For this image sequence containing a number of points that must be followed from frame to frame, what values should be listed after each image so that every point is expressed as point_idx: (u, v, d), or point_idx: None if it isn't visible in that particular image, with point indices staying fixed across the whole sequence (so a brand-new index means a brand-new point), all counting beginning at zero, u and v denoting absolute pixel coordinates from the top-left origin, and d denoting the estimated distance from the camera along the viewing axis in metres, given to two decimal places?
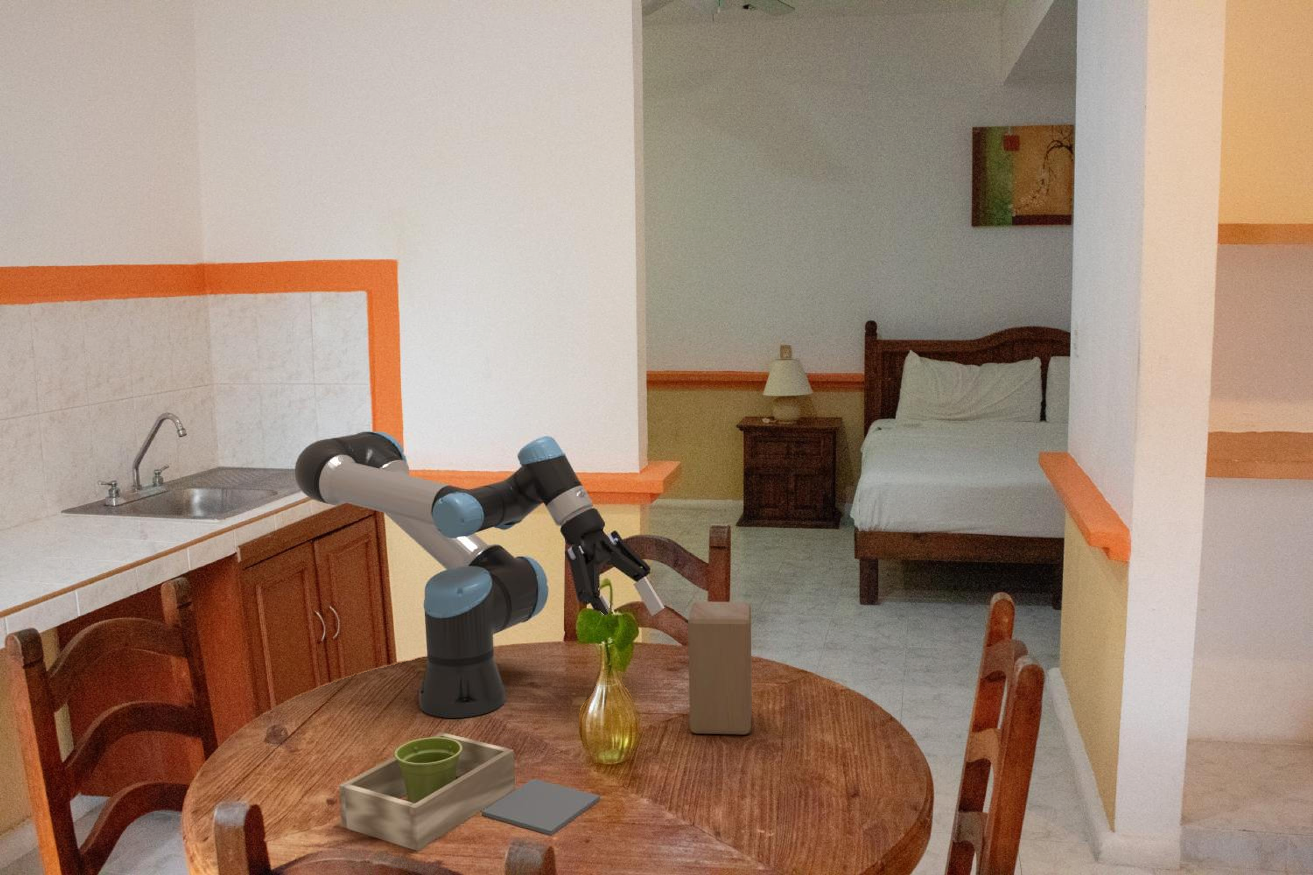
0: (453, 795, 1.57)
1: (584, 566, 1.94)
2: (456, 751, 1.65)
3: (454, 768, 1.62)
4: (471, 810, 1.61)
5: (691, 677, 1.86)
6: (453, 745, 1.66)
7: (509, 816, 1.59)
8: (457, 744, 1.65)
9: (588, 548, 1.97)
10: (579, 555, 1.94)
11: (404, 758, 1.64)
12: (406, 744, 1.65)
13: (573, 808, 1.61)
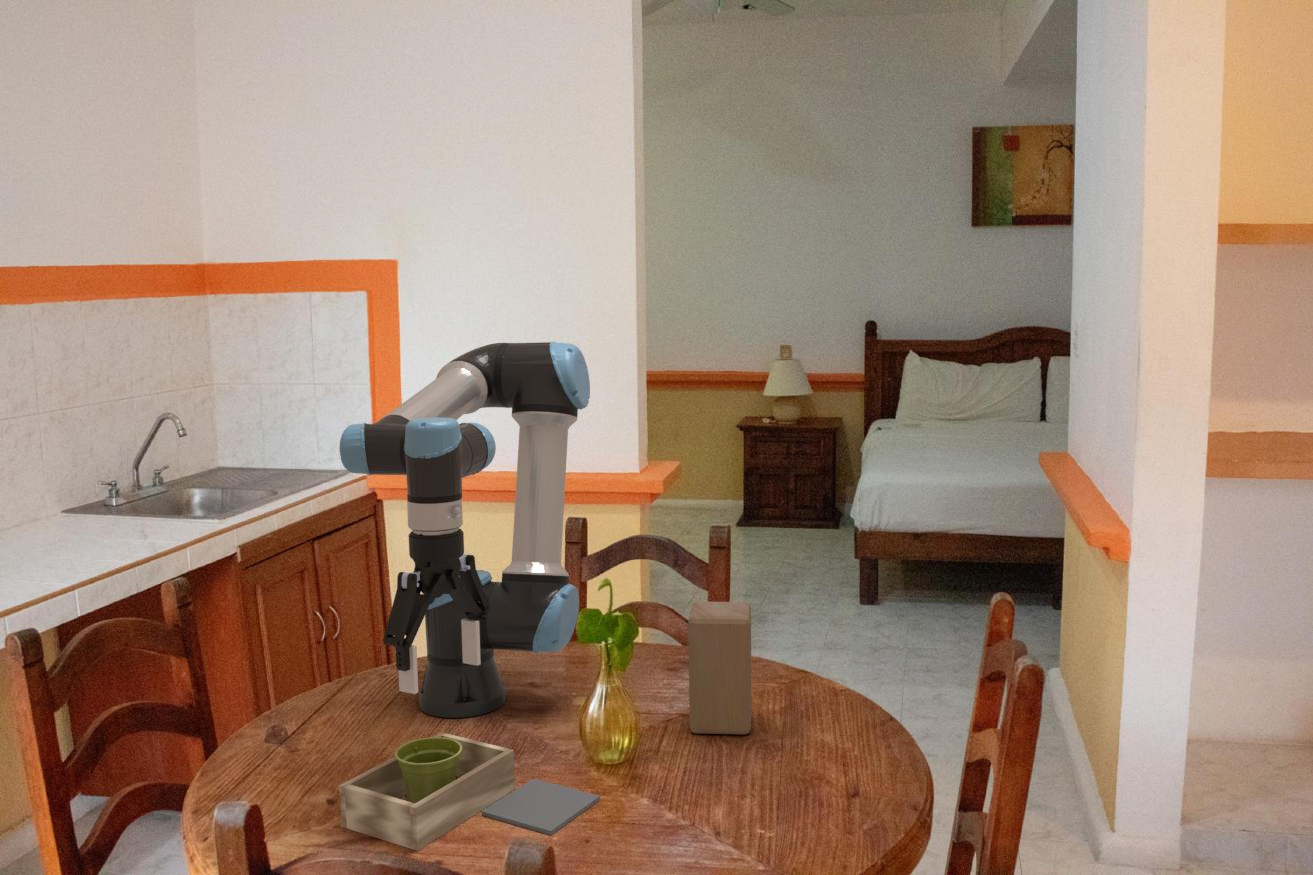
0: (453, 795, 1.57)
1: (410, 605, 1.54)
2: (456, 751, 1.65)
3: (454, 768, 1.62)
4: (471, 810, 1.61)
5: (691, 677, 1.86)
6: (454, 745, 1.66)
7: (509, 816, 1.59)
8: (457, 744, 1.65)
9: (428, 579, 1.57)
10: (411, 589, 1.54)
11: (404, 758, 1.64)
12: (406, 744, 1.65)
13: (573, 808, 1.61)
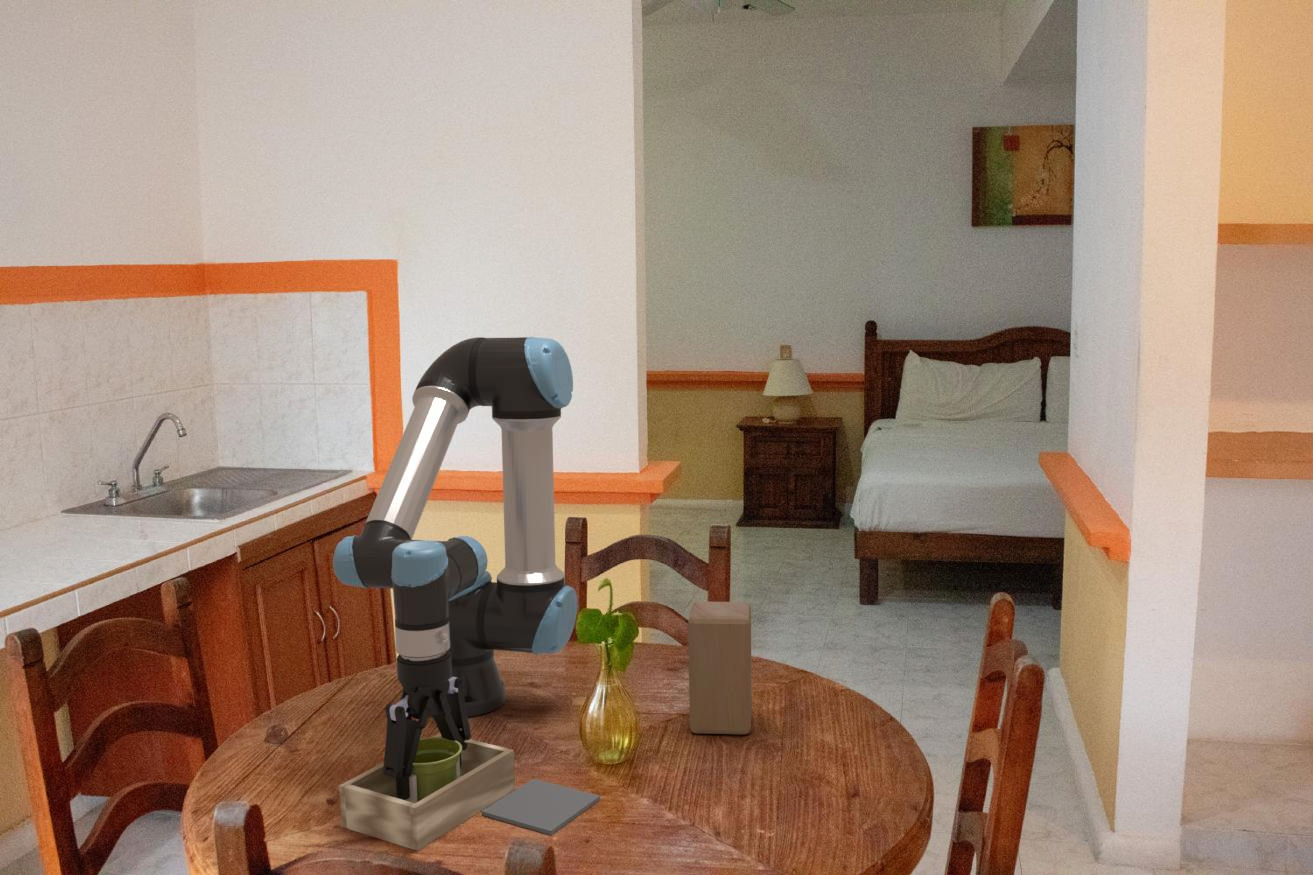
0: (453, 795, 1.57)
1: (403, 736, 1.56)
2: (456, 751, 1.65)
3: (454, 768, 1.62)
4: (471, 810, 1.61)
5: (691, 677, 1.86)
6: (453, 745, 1.66)
7: (509, 816, 1.59)
8: (457, 744, 1.65)
9: (416, 704, 1.58)
10: (401, 722, 1.56)
11: None
12: None
13: (573, 808, 1.61)
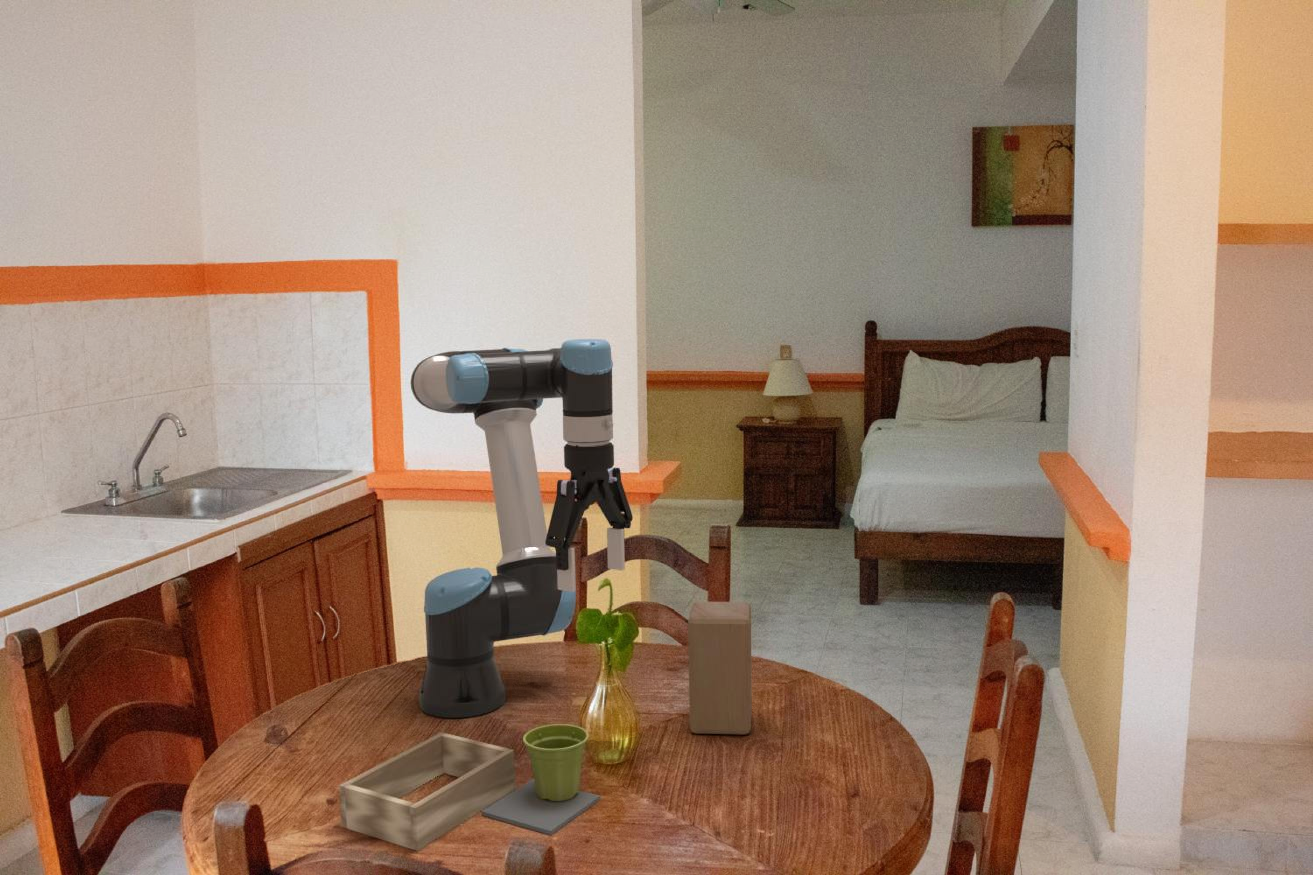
0: (453, 795, 1.57)
1: (569, 510, 1.67)
2: (581, 737, 1.68)
3: (582, 754, 1.65)
4: (471, 810, 1.61)
5: (691, 677, 1.86)
6: (577, 731, 1.68)
7: (509, 816, 1.59)
8: (582, 730, 1.68)
9: (583, 487, 1.70)
10: (570, 495, 1.67)
11: (530, 744, 1.67)
12: (531, 731, 1.67)
13: (573, 808, 1.61)
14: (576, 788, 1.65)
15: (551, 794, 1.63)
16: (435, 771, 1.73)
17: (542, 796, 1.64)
